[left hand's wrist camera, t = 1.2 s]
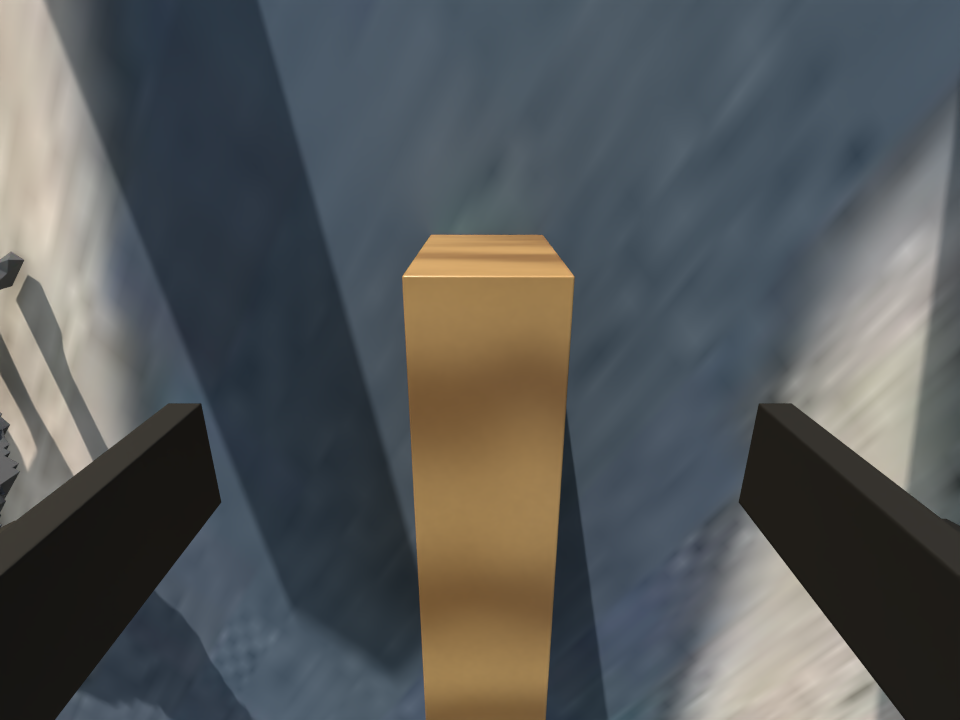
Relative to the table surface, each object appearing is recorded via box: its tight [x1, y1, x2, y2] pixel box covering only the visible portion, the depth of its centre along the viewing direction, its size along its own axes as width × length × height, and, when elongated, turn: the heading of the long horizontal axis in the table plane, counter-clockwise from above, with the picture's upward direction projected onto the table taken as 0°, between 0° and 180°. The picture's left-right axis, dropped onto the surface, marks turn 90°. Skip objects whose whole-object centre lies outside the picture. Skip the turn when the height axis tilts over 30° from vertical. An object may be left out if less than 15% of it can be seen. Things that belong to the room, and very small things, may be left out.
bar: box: [402, 235, 575, 720], centre depth 23 cm, size 23×5×8 cm, turn 0°
